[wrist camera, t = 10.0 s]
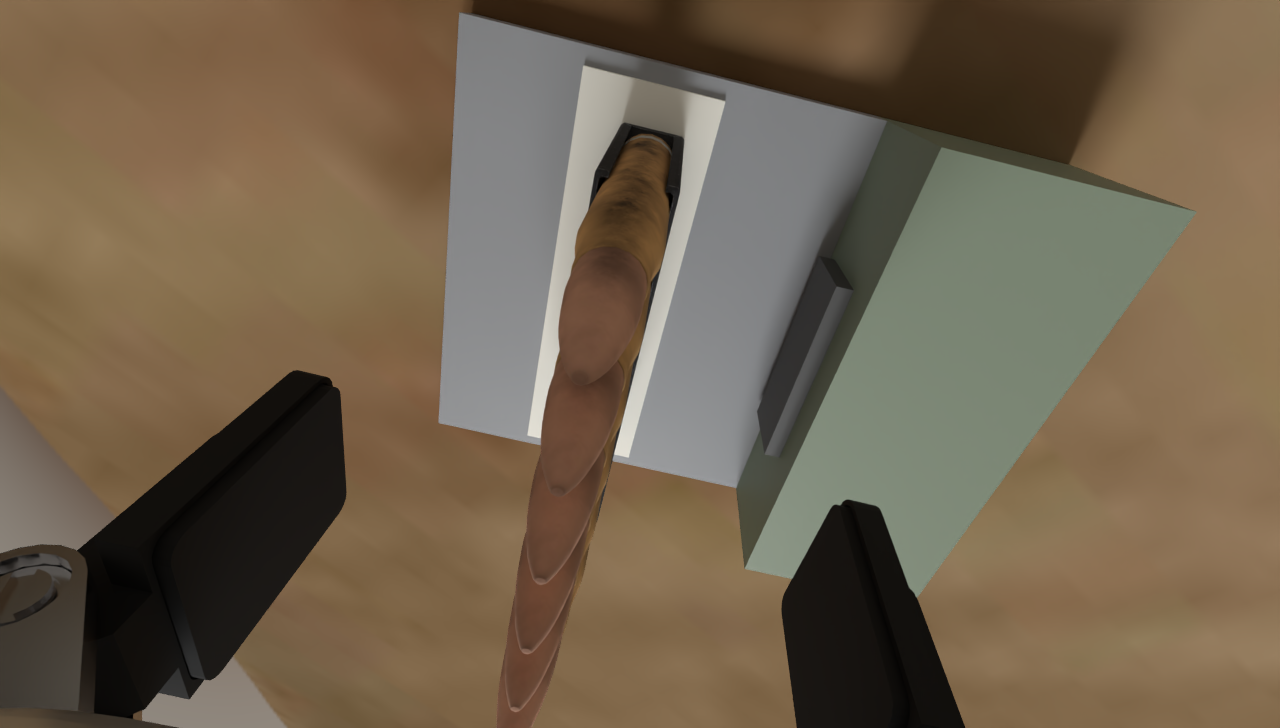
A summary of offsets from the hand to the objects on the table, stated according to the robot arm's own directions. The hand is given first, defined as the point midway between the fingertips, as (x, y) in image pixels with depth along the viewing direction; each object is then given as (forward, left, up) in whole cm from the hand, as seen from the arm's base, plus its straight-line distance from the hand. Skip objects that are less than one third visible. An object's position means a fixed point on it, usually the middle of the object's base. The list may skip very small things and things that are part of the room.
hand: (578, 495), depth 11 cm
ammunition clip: (0, 0, -10) cm, 10 cm away
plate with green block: (-3, 0, -11) cm, 11 cm away
